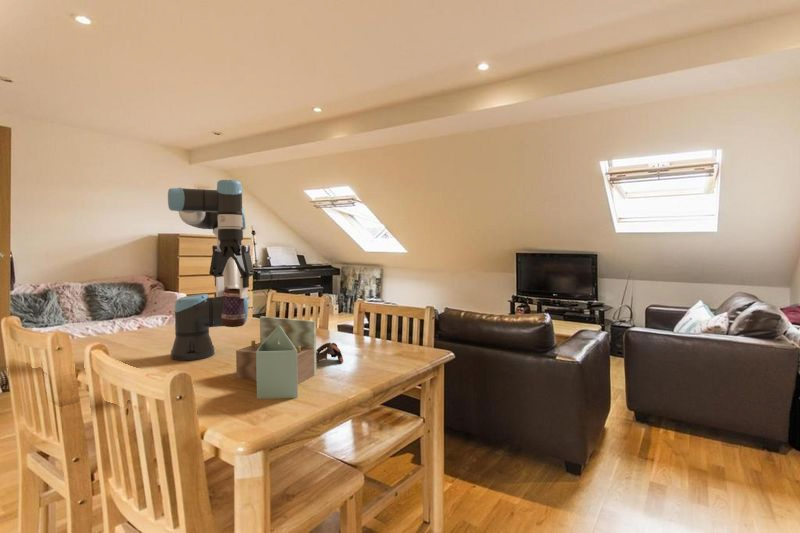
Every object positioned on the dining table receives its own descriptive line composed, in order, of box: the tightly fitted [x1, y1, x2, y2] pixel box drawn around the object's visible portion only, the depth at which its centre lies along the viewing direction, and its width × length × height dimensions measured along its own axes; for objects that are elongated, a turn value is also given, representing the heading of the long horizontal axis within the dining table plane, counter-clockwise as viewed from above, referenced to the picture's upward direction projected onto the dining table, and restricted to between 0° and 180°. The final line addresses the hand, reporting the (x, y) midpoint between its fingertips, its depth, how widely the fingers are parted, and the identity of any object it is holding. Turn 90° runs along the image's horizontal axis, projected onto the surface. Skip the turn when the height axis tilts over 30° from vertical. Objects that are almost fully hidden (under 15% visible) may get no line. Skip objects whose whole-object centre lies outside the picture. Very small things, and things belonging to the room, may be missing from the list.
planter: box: [256, 325, 299, 400], centre depth 120 cm, size 16×8×20 cm, turn 52°
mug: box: [221, 286, 245, 328], centre depth 137 cm, size 10×7×12 cm
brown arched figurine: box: [316, 342, 344, 365], centre depth 154 cm, size 12×9×8 cm
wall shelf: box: [235, 315, 317, 385], centre depth 137 cm, size 22×13×18 cm, turn 68°
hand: (231, 297), depth 136 cm, fingers closed on mug, 9 cm apart
